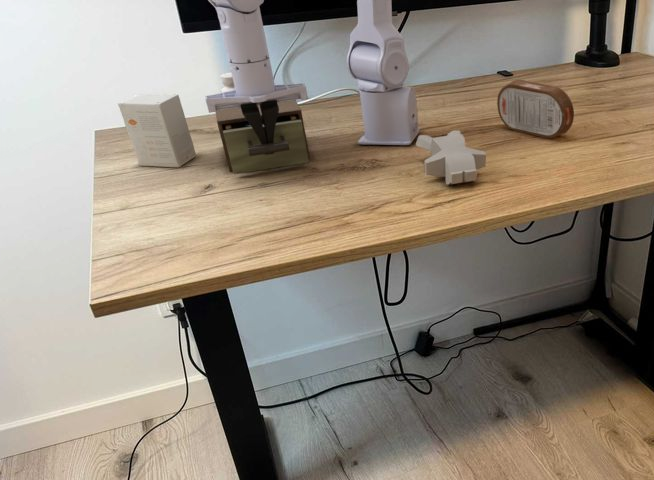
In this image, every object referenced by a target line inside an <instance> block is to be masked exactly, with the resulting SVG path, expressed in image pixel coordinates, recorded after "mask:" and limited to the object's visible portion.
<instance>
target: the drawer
mask: <svg viewBox="0 0 654 480" xmlns="http://www.w3.org/2000/svg"><path fill="white" fill-rule="evenodd" d="M277 121H278V123H276V125H275V131H274V143H268V144H261V142H260V140H259V138H258V136H257V135H256V133H255V131H254V130H253V128H252V127H244V122H237V123H230V124H225V126H226V130H223V133H224V137H225V141H226V145H227V149H228V153H229V157H230V161H231V165H232V169H233V172H232V173H233V175H237V174H242V173H243V174H244V173H249V172H256V171H263V170H269V169H275V168H283V167H288V166H294V165H300V164H301V165H302V164H306V163H310V160H308V154H307V149H306V143H305V138H304V132H303V126H302V121H301V120H297V119H296V117H295V115H287V116H280V117H277ZM263 130H264V135H265V138H266V133H265V127H264V125H263ZM266 142H267V141H266ZM267 153H274V154H268V155H265V154H267Z"/></svg>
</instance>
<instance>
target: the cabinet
mask: <svg viewBox="0 0 654 480" xmlns="http://www.w3.org/2000/svg"><path fill="white" fill-rule="evenodd" d="M277 104H278V107H279V113H278V117H280V116H287V115H295V117H296V119H297V120H301V121H302V126H303V132H304V138H305V143H306V149H307V154H308V160H309V161H310V160H311V158H310V157H311V156H310V151H309V146H308V141H307V135H306V129H305V124H304V117H303V111H302V109H301V107H300V105H299V104H298V101H297V100H289V101H282V102H277ZM258 108H259V112H260V115H261V119H263V118H262V113H261V109H260V105H258ZM214 113H215V119H216V123H217V127H218V132H219V134H220V139H221V140H220V141H221V143H222V148H223V151H224V155H225V159H226V163H227V166H228V171H229V172H230V173H233V169H232V165H231V161H230V157H229V153H228V149H227V145H226V141H225V137H224V133H223V130H226V126H225V124H230V123H237V122H244V121H247V120H246V118H245V117H244V115H243V114H242V110H241V107H238V108H231V109H223V110H216V112H214Z"/></svg>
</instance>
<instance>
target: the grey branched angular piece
mask: <svg viewBox="0 0 654 480" xmlns="http://www.w3.org/2000/svg"><path fill="white" fill-rule="evenodd" d="M415 146H416V147H419V148H422V149H424V150H427V151H430V157H428V158H426V159H424V174H425V175H426V176H432V177H442V178H445V184H446V185H448V186H449V185H456V184H463V183H469V182H475V181H478V170H480V169H483V168H486V167H487V166H486V165H487V154H486V151H483V150H479V149H476V148H471V147H467V146H466V140H465V136H464V135H463V134H462V133H461V131H460V130H452V131H449V132H448V133H447V135H443V136H436V137H432V136H430V135H427V134H420V135H418V137H417V139H416V143H415Z"/></svg>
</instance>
